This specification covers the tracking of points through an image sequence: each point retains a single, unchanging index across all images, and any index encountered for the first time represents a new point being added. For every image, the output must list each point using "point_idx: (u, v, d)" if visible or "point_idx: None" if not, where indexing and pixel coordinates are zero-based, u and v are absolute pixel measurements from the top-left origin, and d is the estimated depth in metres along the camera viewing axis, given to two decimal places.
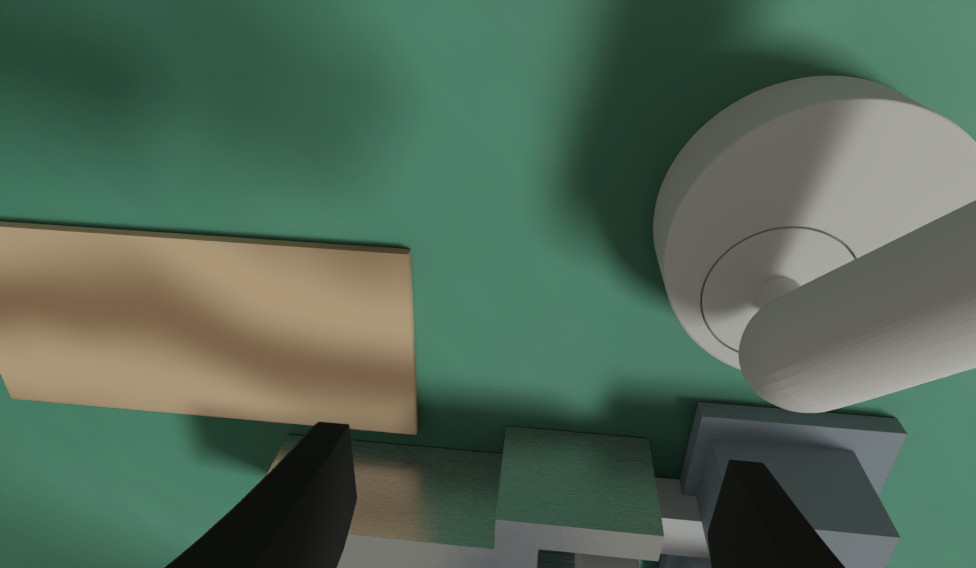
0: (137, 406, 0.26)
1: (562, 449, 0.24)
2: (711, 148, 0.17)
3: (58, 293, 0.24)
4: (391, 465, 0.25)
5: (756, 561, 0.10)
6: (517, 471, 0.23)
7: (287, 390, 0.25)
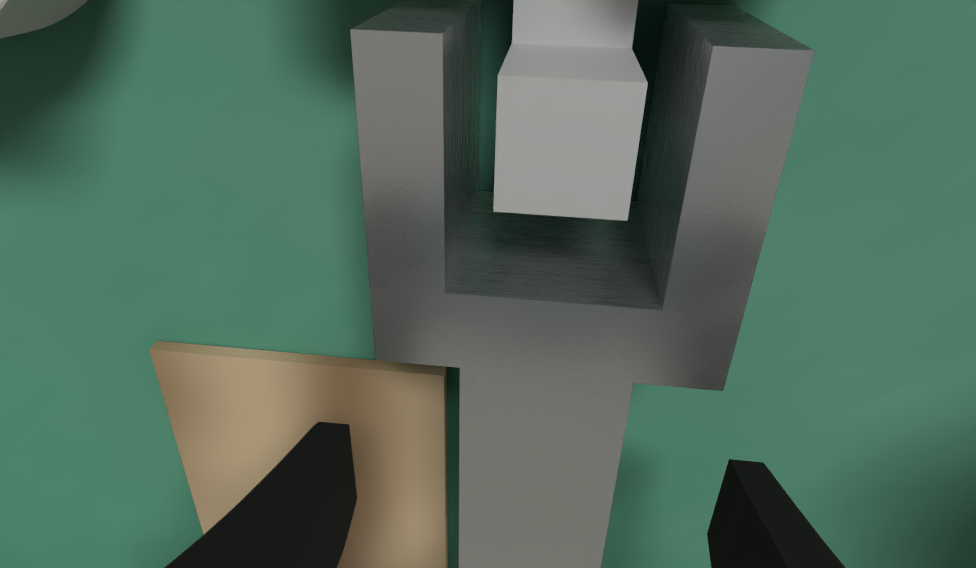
0: None
1: None
2: None
3: None
4: None
5: (756, 560, 0.10)
6: None
7: (389, 503, 0.19)
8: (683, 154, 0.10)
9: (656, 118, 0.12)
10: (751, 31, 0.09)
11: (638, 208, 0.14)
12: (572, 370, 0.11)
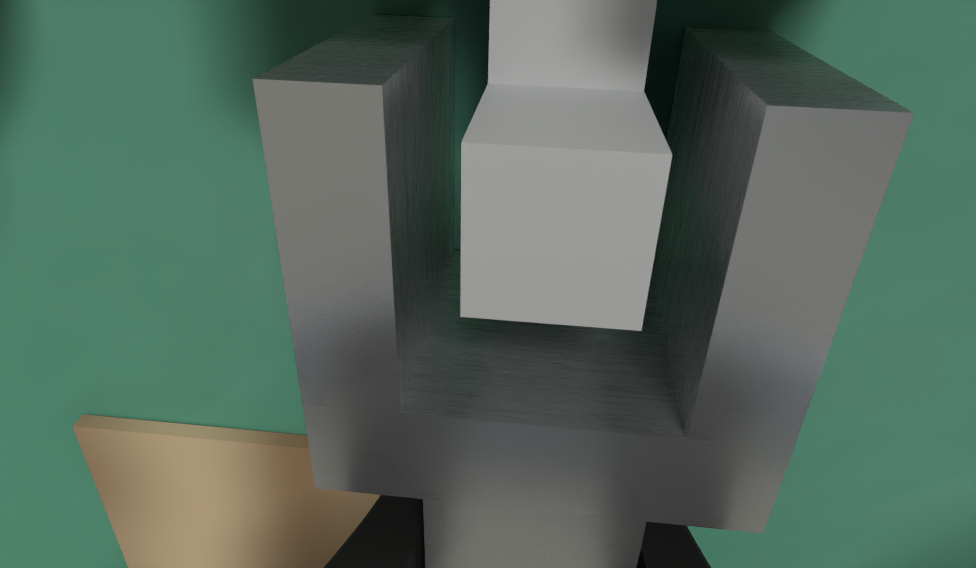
0: None
1: None
2: None
3: None
4: None
5: None
6: None
7: None
8: (716, 240, 0.07)
9: (672, 171, 0.10)
10: (809, 75, 0.07)
11: None
12: (567, 505, 0.09)
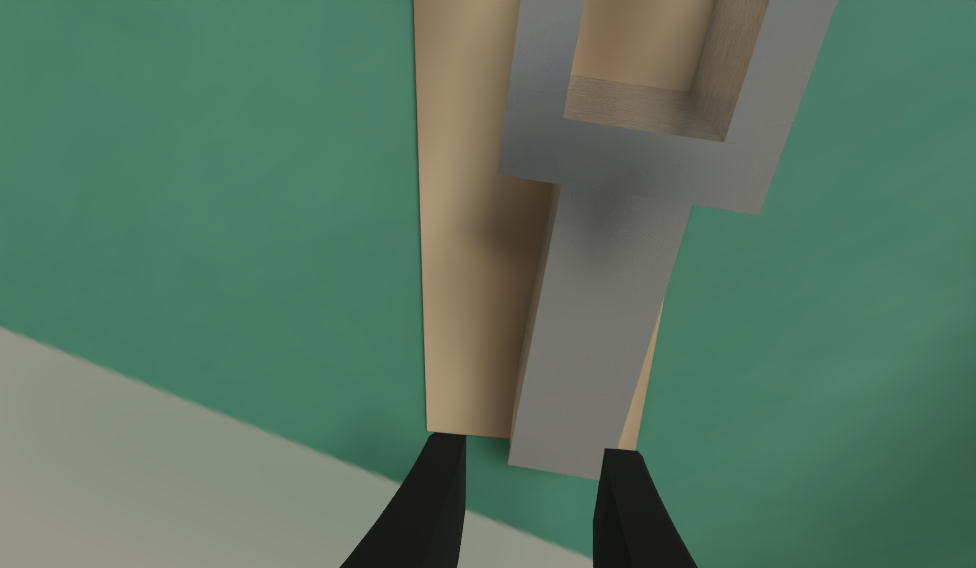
0: None
1: None
2: None
3: (497, 357, 0.23)
4: (536, 276, 0.20)
5: (613, 545, 0.10)
6: None
7: None
8: (753, 21, 0.13)
9: (718, 17, 0.16)
10: None
11: (692, 95, 0.17)
12: (648, 191, 0.15)
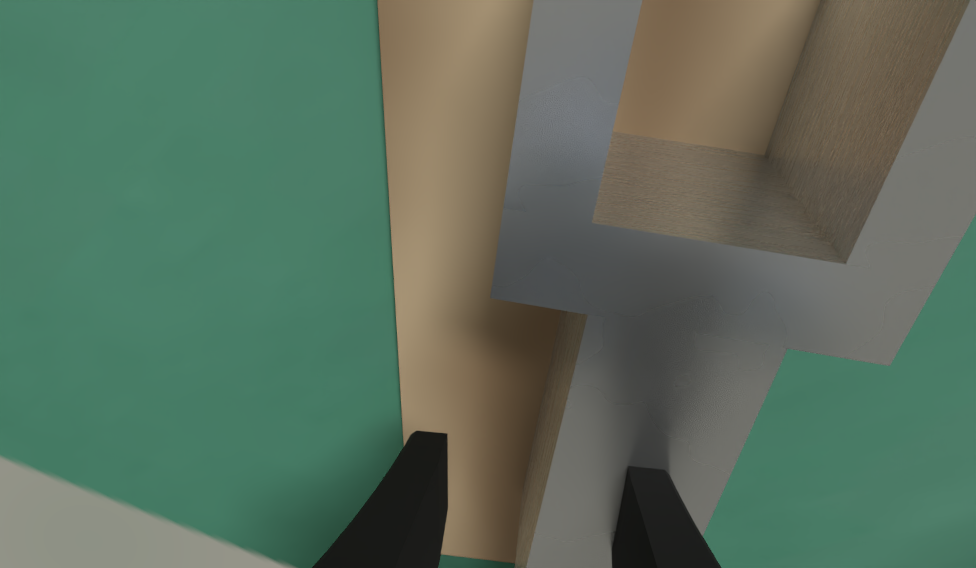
0: None
1: None
2: None
3: (496, 472, 0.18)
4: (548, 391, 0.15)
5: (636, 548, 0.10)
6: None
7: None
8: (906, 78, 0.08)
9: (819, 55, 0.11)
10: None
11: (770, 162, 0.12)
12: (720, 328, 0.10)
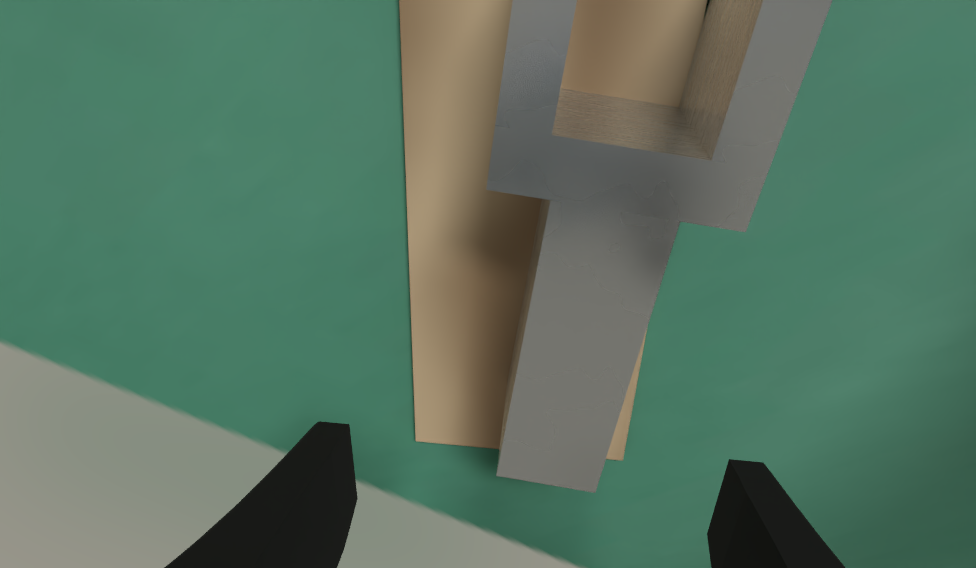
0: None
1: None
2: None
3: (485, 368, 0.23)
4: (526, 288, 0.20)
5: (757, 561, 0.10)
6: None
7: None
8: (741, 42, 0.13)
9: (708, 34, 0.16)
10: None
11: (681, 110, 0.17)
12: (636, 207, 0.15)
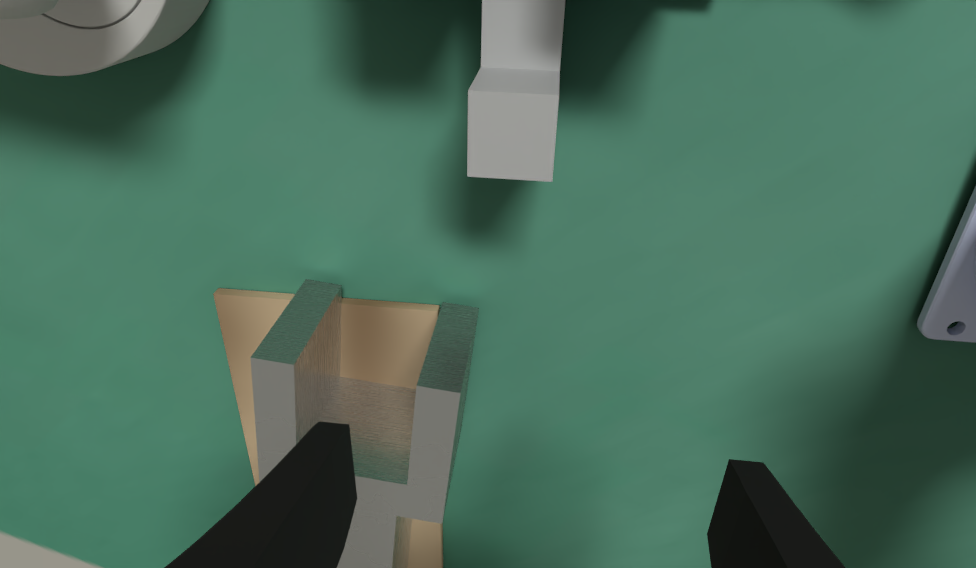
0: (436, 534, 0.28)
1: None
2: None
3: None
4: None
5: (757, 561, 0.10)
6: None
7: None
8: None
9: None
10: (451, 361, 0.19)
11: None
12: (364, 507, 0.21)
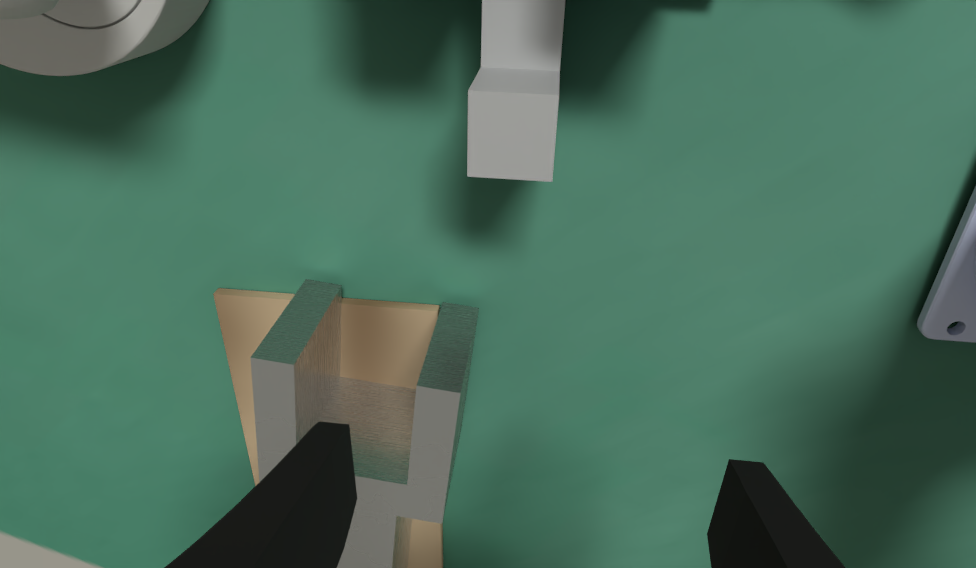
0: (436, 534, 0.28)
1: None
2: None
3: None
4: None
5: (757, 561, 0.10)
6: None
7: None
8: None
9: None
10: (451, 361, 0.19)
11: None
12: (364, 507, 0.21)
